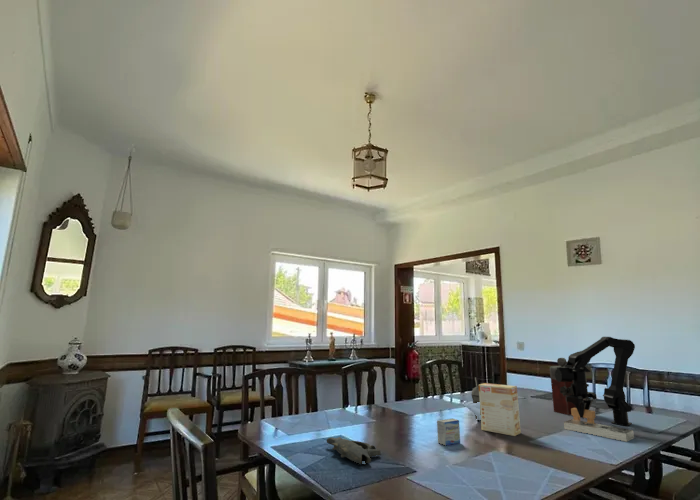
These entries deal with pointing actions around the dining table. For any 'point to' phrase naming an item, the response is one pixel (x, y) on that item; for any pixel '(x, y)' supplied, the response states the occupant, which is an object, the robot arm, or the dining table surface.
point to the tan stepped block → (587, 414)
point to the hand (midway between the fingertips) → (583, 416)
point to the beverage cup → (475, 395)
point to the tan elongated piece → (354, 449)
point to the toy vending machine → (558, 398)
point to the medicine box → (448, 431)
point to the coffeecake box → (499, 409)
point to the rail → (599, 430)
